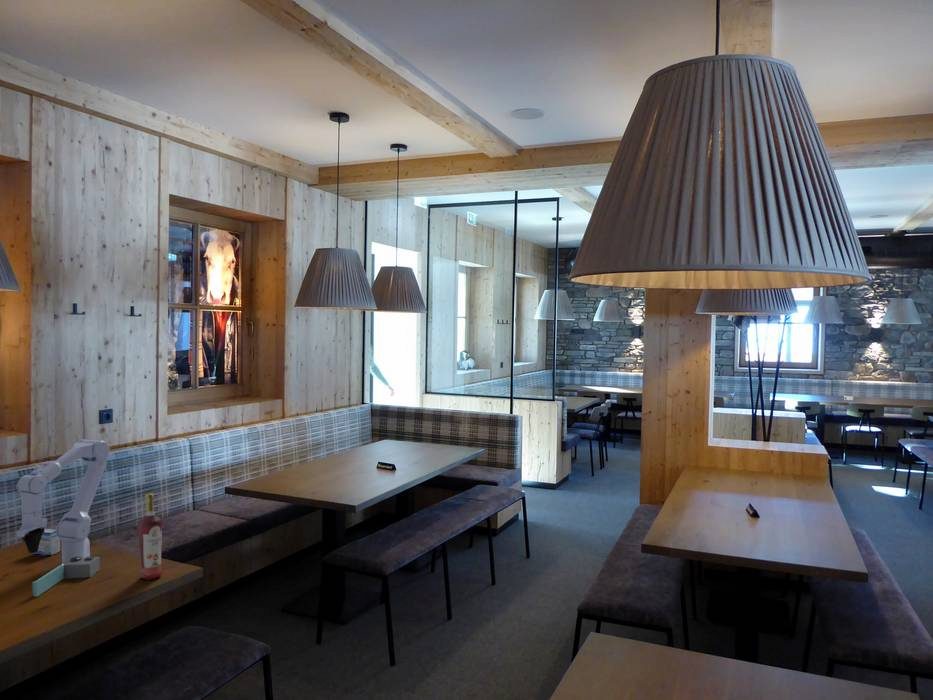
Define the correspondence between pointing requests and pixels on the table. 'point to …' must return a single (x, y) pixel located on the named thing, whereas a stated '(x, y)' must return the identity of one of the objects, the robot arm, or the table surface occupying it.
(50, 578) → the side door
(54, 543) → the medicine box
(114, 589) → the table surface
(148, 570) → the liquor
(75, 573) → the camera case
